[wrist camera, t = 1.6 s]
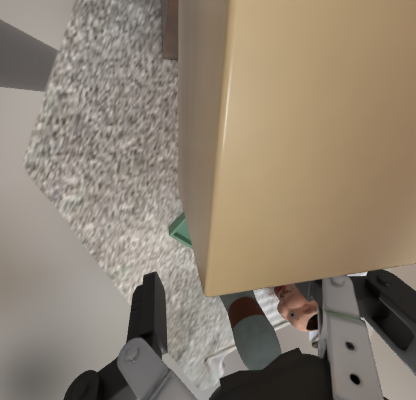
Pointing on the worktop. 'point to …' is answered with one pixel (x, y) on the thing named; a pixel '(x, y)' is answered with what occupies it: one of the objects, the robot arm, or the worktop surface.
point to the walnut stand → (170, 28)
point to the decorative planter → (296, 308)
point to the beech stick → (296, 138)
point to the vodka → (251, 330)
